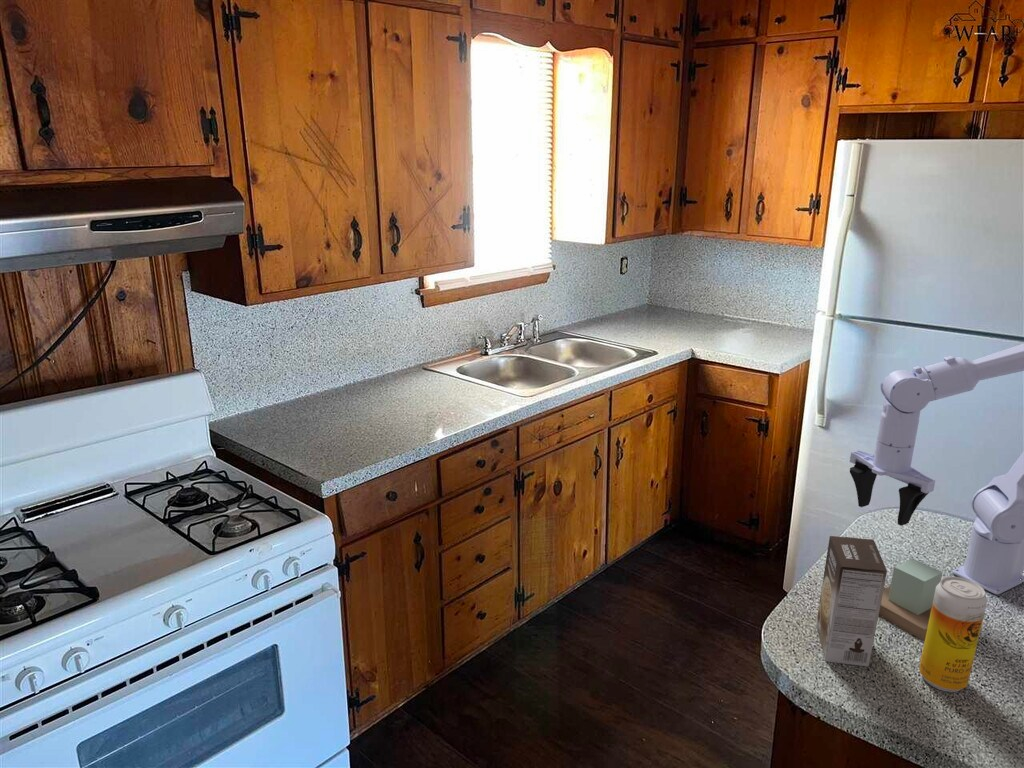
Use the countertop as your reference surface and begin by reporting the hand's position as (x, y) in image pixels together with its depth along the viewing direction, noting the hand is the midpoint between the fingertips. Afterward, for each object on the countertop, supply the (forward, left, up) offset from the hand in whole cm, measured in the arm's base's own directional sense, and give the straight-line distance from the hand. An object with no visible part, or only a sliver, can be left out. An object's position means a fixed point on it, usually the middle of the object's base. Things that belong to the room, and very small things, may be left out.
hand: (882, 514), depth 133 cm
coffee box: (+24, +12, -11) cm, 29 cm away
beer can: (+18, +24, -11) cm, 32 cm away
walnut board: (+7, +12, -11) cm, 18 cm away
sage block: (+7, +12, -8) cm, 16 cm away
